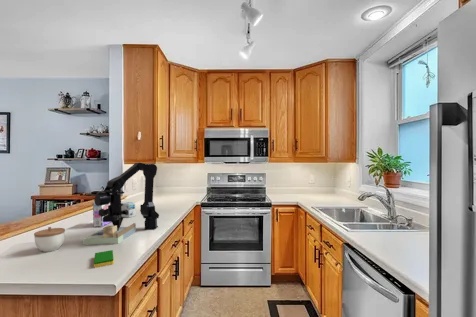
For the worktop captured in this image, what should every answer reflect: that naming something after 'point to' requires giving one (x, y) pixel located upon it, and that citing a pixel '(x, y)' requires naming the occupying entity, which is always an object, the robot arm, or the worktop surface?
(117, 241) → the board
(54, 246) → the lidded bowl
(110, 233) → the oak block
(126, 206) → the light bulb box
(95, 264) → the dish sponge
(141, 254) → the worktop surface
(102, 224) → the candy box
